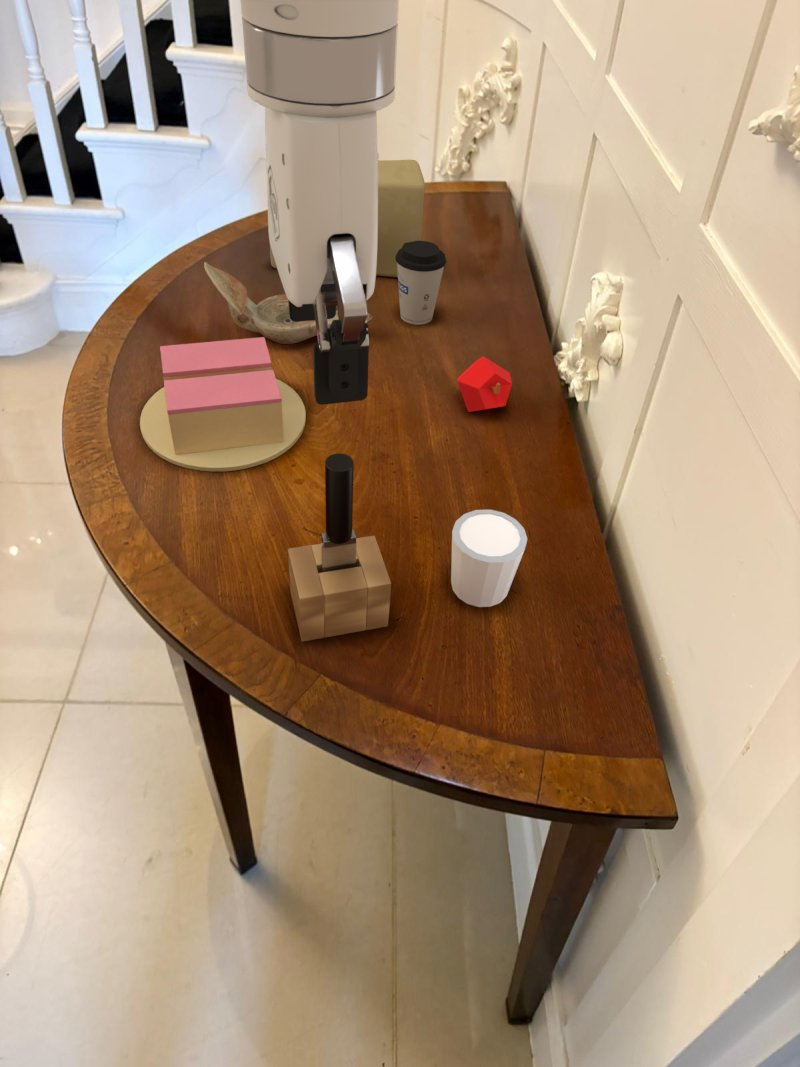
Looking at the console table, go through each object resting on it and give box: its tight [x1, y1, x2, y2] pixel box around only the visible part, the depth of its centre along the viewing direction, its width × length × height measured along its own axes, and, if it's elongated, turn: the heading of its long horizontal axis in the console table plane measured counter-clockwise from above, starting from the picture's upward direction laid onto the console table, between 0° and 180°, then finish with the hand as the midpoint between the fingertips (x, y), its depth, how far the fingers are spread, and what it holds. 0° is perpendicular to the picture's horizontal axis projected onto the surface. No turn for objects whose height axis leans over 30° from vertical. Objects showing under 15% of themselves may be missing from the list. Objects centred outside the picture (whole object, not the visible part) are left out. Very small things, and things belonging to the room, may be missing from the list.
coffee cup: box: [395, 240, 447, 326], centre depth 108 cm, size 7×7×10 cm
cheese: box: [268, 159, 426, 279], centre depth 115 cm, size 22×10×15 cm, turn 96°
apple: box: [456, 356, 513, 413], centre depth 95 cm, size 7×7×8 cm
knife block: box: [287, 535, 392, 643], centre depth 71 cm, size 8×6×6 cm
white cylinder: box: [450, 509, 528, 608], centre depth 74 cm, size 7×7×7 cm
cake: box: [139, 336, 307, 473], centre depth 90 cm, size 19×19×7 cm
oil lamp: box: [203, 261, 373, 345], centre depth 103 cm, size 9×21×10 cm, turn 94°
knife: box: [320, 452, 357, 572], centre depth 67 cm, size 3×2×18 cm
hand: (325, 356), depth 51 cm, fingers open, 9 cm apart
